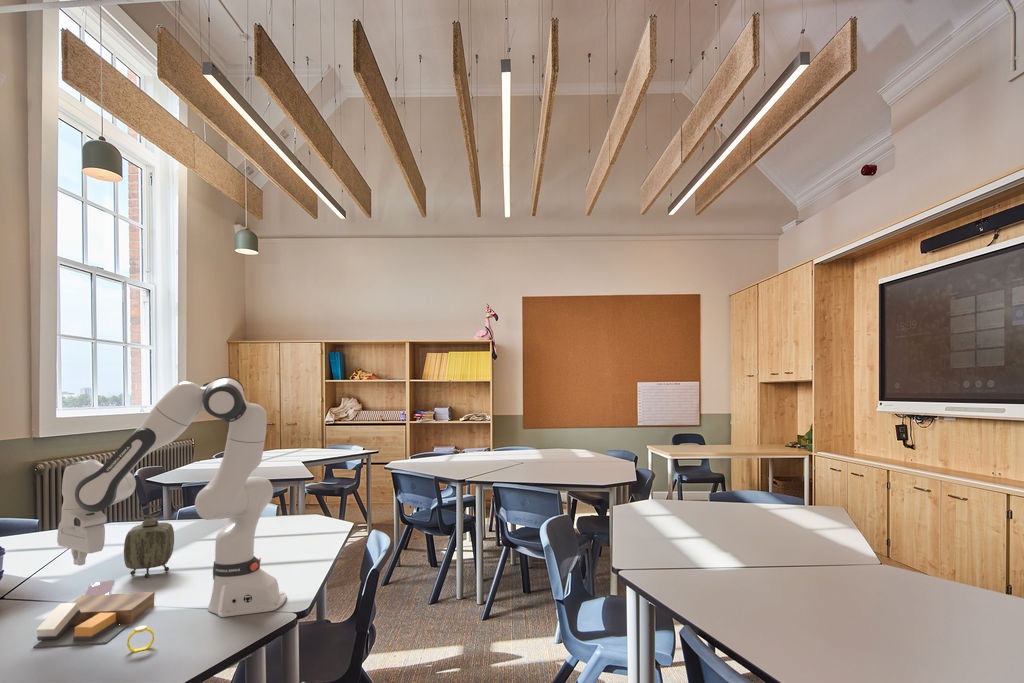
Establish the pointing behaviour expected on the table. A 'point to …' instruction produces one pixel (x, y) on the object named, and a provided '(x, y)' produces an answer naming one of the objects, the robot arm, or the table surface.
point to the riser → (114, 606)
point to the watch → (137, 629)
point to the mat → (67, 640)
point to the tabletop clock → (149, 544)
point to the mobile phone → (100, 588)
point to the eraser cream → (57, 621)
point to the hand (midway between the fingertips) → (79, 564)
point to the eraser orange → (95, 627)
